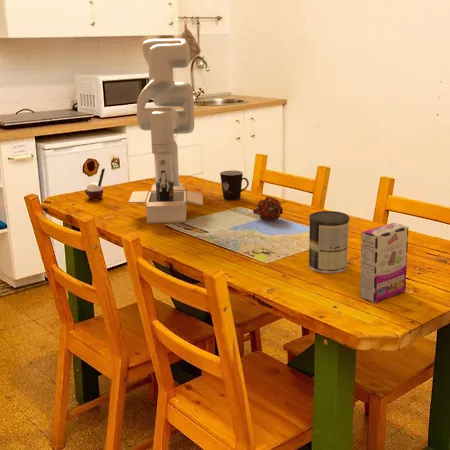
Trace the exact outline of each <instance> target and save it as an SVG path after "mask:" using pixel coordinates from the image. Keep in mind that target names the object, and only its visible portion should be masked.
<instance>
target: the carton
mask: <svg viewBox="0 0 450 450" xmlns="http://www.w3.org/2000/svg"><path fill="white" fill-rule="evenodd" d="M185 187H186V186H185V185H183V186H173V189H174V201H171V202H157V198H156V187H152V186H151V189H150V191H148V190H145V191H144V190H143V191H142V190H141V191H132V192H131V195H130V198H129V199H128V204H144V203H145V210H146V211H145V212H146V224H172V223H173V224H175V223H177V224H179V223H187V215H188V213H187V212H188V208H187V207H188V206H187V203H188V202H186V200H187V190H185V189H186V188H185Z"/></svg>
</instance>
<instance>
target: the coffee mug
mask: <svg viewBox="0 0 450 450" xmlns="http://www.w3.org/2000/svg"><path fill="white" fill-rule="evenodd" d="M243 174H244V173H243V171H240V170H233V169H231V170H223V171H220V172H219V176H220V182H221V183H220V184H221V190H222V195H223V196H222V198H223V200H224V201H228V202H229V201H238V200H240V199H241V196H242V195H241V194H242V192H243V191H245V190H246V189H247V188H248V187H249V184H250V183H249V180H248V179H247V178H246V177H243V176H244V175H243ZM243 180H245V181H246V186H245V187H244V188H242V186H243Z"/></svg>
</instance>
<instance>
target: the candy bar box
mask: <svg viewBox="0 0 450 450" xmlns="http://www.w3.org/2000/svg"><path fill="white" fill-rule="evenodd" d="M408 244H409V226H407V225H403V224H399V223H396V222H392V223H388V224H384V225H381V226H377V227H374V228H371V229H367V230H364V231H361V245H360V246H361V249H360V251H361V252H360V278H359V279H360V280H359V281H360V286H359V288H360V289H359V297H360V298H361V299H363V300H365V301H369V302H370V303H374V304H377V303H380V302H382V301H385V300H387V299H390V298H394V297H395V296H397V295H398V296H399V295H400V294H403V293H406V285H407V283H406V282H407V268H408V267H407V266H408V265H407V262H408V250H409V249H408V246H409V245H408Z"/></svg>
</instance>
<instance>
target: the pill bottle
mask: <svg viewBox="0 0 450 450" xmlns="http://www.w3.org/2000/svg"><path fill="white" fill-rule="evenodd" d="M165 176H166V174H165ZM159 180H160V179H159ZM165 182H167V181H165ZM155 184H156V198H157V202H160V183H158V181H157V182H156V181H155ZM165 185H166V186H167V184H165ZM168 191H169V197H170V202H171V201H174V189H173V182H172V183H170V182H168Z"/></svg>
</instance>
